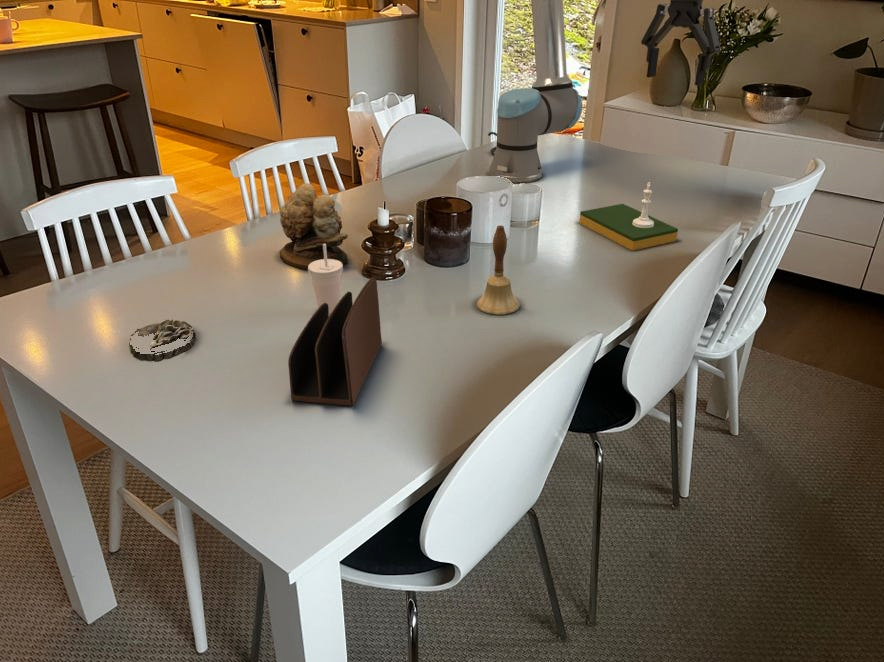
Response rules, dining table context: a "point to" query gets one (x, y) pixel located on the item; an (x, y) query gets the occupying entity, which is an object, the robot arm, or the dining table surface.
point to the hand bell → (498, 282)
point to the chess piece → (644, 211)
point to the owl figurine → (311, 228)
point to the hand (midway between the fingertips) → (674, 80)
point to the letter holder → (336, 350)
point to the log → (165, 338)
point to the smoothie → (326, 280)
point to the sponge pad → (627, 227)
